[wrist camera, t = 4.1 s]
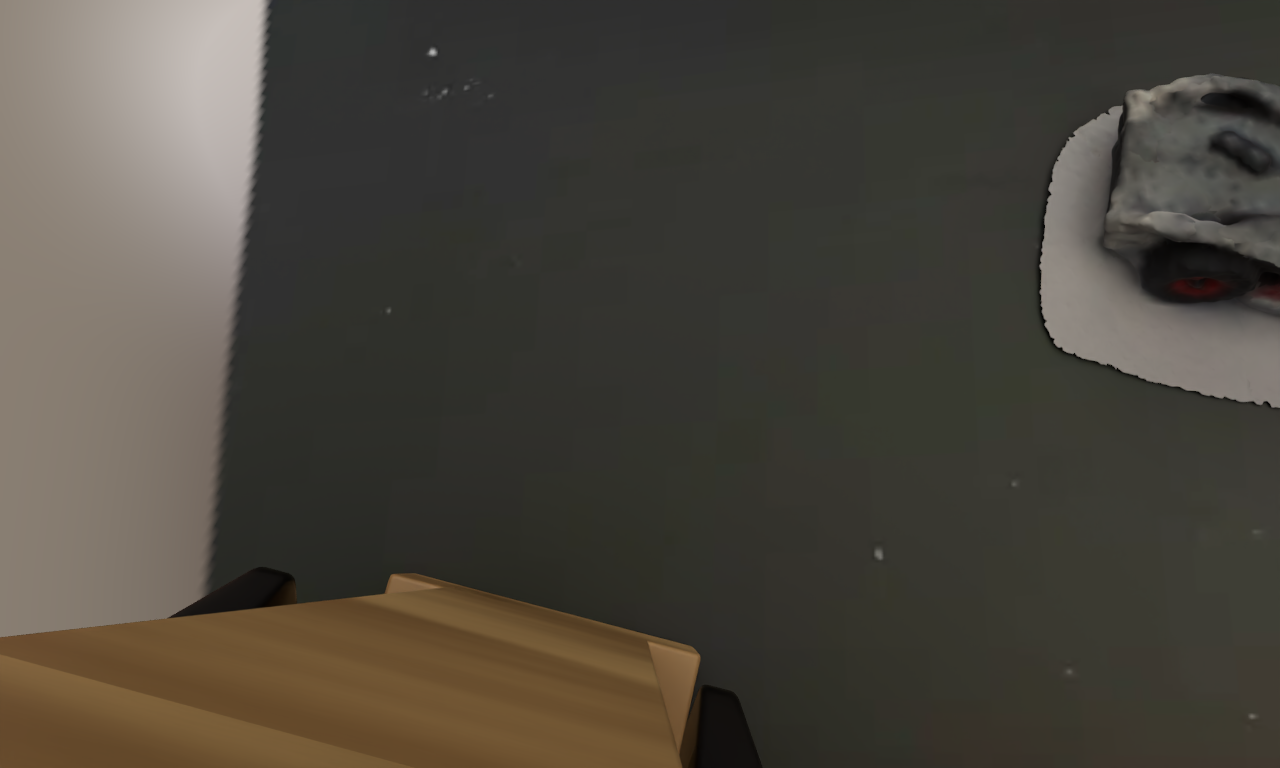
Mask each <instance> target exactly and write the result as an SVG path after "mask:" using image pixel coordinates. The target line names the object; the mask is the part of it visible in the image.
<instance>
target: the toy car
mask: <svg viewBox="0 0 1280 768" xmlns="http://www.w3.org/2000/svg"><path fill="white" fill-rule="evenodd" d="M1108 112H1109V113H1110V115H1107V114H1106V113H1104V114H1101V115H1100V116H1099V117H1098V118H1097V120H1094V119H1092V120H1091V121H1090V122H1089V123H1088V124H1086V125H1084V126H1082V127H1079V129H1078V130H1076V131H1075V132H1074V135H1075V137H1073V138H1070V137H1069V139H1070V140H1069V142H1068V141H1067V144H1066V146H1065V148H1063V151H1061V152H1062V153H1060V155H1061V156H1059V157H1058V158H1057V159H1058V160H1059V162H1057V161H1056V163H1055V165H1054V169H1052V171H1053V175H1051V176H1052V180H1053V182H1051V183H1050V186H1049V189H1048V190H1049V191H1050V193H1051V194H1052V195H1051V196H1049V198H1048V199H1047V201H1048V202H1049V203H1048V205H1047V206H1046V207H1047V209H1046V211H1047V213H1046V214H1045V217H1044V218H1045V221H1044V224H1045V233H1044V237H1045V238H1044V241H1043V242H1042V245H1043V248H1042V249H1041V251H1042V252H1043V254H1042V256H1041V258H1040V261H1041V262H1042V263H1041V264H1040V265H1039V267H1040V269H1041V270H1042V272H1041V273H1042V276H1041V278H1042V279H1041V286H1040V287H1041V288H1042V289H1041V290H1040V291H1039V292H1040V294H1041V295H1042V296H1041V301H1042V303H1041V306H1042V307H1043V310H1042V314H1043V315H1044V319H1045V320H1047V322H1046V323H1045V324H1044V325H1045V327H1046V328H1047V329H1048V331H1049V333H1050V337H1052V338H1055V340H1054V343H1055V345H1056V346H1057V347H1058V348H1060V347H1062V348H1063V350H1064V351H1065V352H1067V353H1071V354H1073V353H1075V354H1076V355H1077V357H1081V358H1082V359H1087V360H1093V361H1097V362H1099V363H1100V364H1105V365H1106V366H1107V363H1108V364H1111V365H1112V366H1114V367H1115V369H1117V368H1118V369H1120V370H1121V371H1122V372H1124V373H1129V374H1132V375H1138V377H1139V378H1145V379H1146V380H1147V381H1150V382H1154V383H1162V384H1166V385H1168V386H1171V387H1173V386H1179V387H1181V388H1183V389H1185V390H1187V391H1190V390H1191V391H1199V392H1200V393H1201V394H1203V395H1206V396H1210V395H1213V396H1215V397H1218V398H1223V397H1224V396H1225V397H1227V398H1229V399H1232V400H1234V399H1236V400H1237V401H1239V402H1248V401H1254V402H1255V403H1256V404H1259V405H1262V404H1263V402H1264V401H1268V402H1269V403H1270V404H1271V407H1278V408H1280V86H1277V85H1274V84H1267V83H1264V82H1261V81H1257V80H1250V79H1247V78H1241V77H1240V78H1233V77H1227V76H1223V75H1218V74H1212V73H1211V74H1207V75H1205V76H1201V75H1197V76H1193V77H1186V78H1180V79H1177V80H1175V81H1174V82H1172V83H1171V84H1169V85H1160V86H1157V87H1155V88H1153V89H1151V90H1150V91H1146V90H1144V89H1141V90H1130V91H1128V92H1127V93H1126V94H1125V96H1124V103H1123V106H1115V107H1112V108H1111V109H1110V110H1109V111H1108Z"/></svg>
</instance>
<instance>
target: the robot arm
mask: <svg viewBox="0 0 1280 768" xmlns="http://www.w3.org/2000/svg"><path fill="white" fill-rule="evenodd" d="M292 604H297V598H296V584H295V579H294V578H293V576H292V575H291V574H289V573H285V572H282V571H278V570H274V569H270V568H267V567H259V568H255V569H253V570H251V571H249V572H247V573H245V574H244V575H242V576H240V577H238V578H237V579H235V580H233V581H231V582H230V583H228V584H226V585H224V586H223V587H221V588H219V589H217V590H216V591H214V592H212V593H211V594H209V595H207V596H205V597H204V598H202V599H200V600H198V601H197V602H195V603H193V604H192V605H190V606H188V607H186V608H185V609H183V610H181V611H179V612H178V613H176V614H174V615H172V616H171V617H169V618H177V617H186V616H195V615H204V614H212V613H221V612H230V611H239V610H248V609H257V608H266V607H274V606H283V605H292ZM167 619H168V618H167ZM679 756H680V760H681V764H682V767H683V768H762V765H761V762H760V759H759V756H758V753H757V750H756V747H755V745H754V742H753V739H752V736H751V733H750V730H749V727H748V724H747V721H746V718H745V715H744V713H743V710H742V707H741V704H740V701H739V699H738V697H737V695H736V694H735V693H734V692H732V691H729V690H725V689H722V688H718V687H714V686H710V685H703V686H702V687H701V688H700V689H699V691H698V694H697V697H696V699H695V702H694V705H693V708H692V710H691V713H690V716H689V719H688V722H687V724H686V727H685V731H684V734H683V739H682V743H681V749H680V754H679Z"/></svg>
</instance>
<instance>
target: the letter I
mask: <svg viewBox="0 0 1280 768" xmlns="http://www.w3.org/2000/svg"><path fill="white" fill-rule="evenodd" d="M700 660H701V659H700V655H699V654H698V653H697V651H696V650H695V649H694V648H693V647H692V646H689V645H685V644H681V643H677V642H673V641H670V640H666V639H662V638H658V637H654V636H651V635H647V634H643V633H639V632H636V631H632V630H628V629H624V628H620V627H617V626H613V625H609V624H605V623H601V622H598V621H594V620H590V619H586V618H582V617H579V616H575V615H571V614H567V613H563V612H560V611H556V610H552V609H548V608H544V607H541V606H537V605H533V604H529V603H525V602H522V601H518V600H514V599H510V598H506V597H503V596H499V595H495V594H491V593H487V592H484V591H480V590H476V589H472V588H468V587H465V586H461V585H457V584H453V583H449V582H445V581H442V580H438V579H434V578H430V577H426V576H423V575H419V574H415V573H406V574H392V575H391V576H390V578H389V581H388V584H387V587H386V591H385V594H381V595H372V596H363V597H354V598H345V599H337V600H328V601H319V602H310V603H301V604H292V605H283V606H274V607H266V608H257V609H248V610H239V611H230V612H221V613H212V614H204V615H195V616H186V617H177V618H168V619H159V620H150V621H142V622H133V623H124V624H115V625H106V626H97V627H89V628H79V629H70V630H62V631H53V632H44V633H36V634H26V635H17V636H8V637H1V638H0V768H683V767H682V764H681V760H680V756H679V754H680V749H681V743H682V739H683V734H684V731H685V727H686V722H687V718H688V713H689V709H690V704H691V700H692V696H693V691H694V687H695V682H696V678H697V673H698V669H699V664H700Z"/></svg>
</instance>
